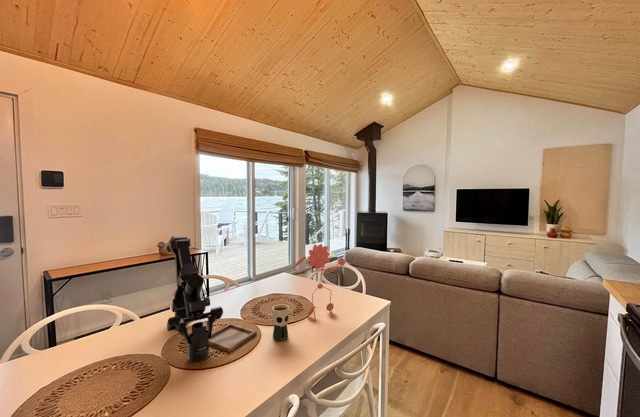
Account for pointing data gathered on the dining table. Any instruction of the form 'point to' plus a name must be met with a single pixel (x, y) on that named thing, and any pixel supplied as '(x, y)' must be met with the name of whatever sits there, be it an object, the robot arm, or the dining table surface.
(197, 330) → the supplement bottle
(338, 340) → the dining table surface
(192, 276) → the robot arm
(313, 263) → the figurine
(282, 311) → the character mug
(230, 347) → the tray
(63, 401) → the dining table surface
